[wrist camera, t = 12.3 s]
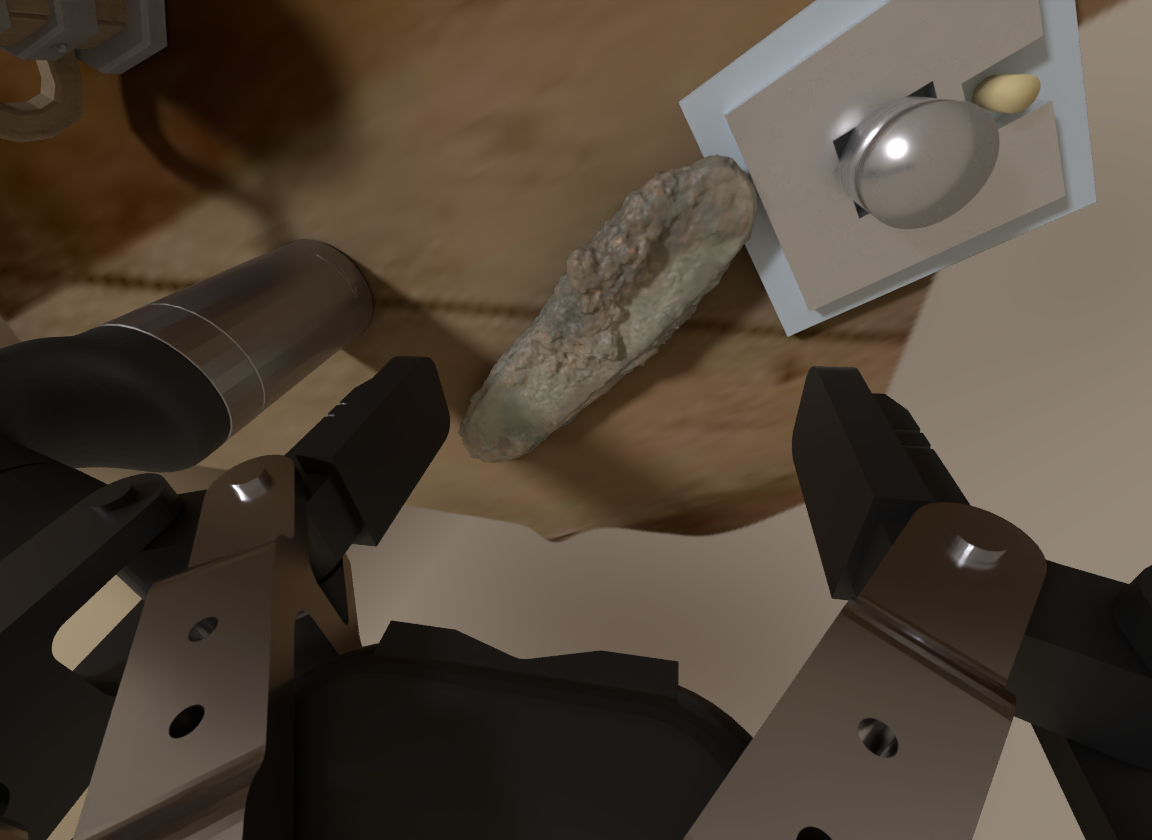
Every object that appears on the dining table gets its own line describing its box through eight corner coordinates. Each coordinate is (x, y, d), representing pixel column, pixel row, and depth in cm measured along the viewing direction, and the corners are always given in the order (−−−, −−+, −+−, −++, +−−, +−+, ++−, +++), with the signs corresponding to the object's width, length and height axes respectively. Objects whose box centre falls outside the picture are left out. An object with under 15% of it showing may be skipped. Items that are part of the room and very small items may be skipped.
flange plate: (805, 302, 34) (826, 344, 29) (723, 113, 28) (731, 123, 23) (1048, 190, 28) (1132, 217, 23) (1006, -84, 22) (1105, -132, 17)
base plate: (784, 328, 37) (795, 355, 34) (678, 101, 30) (678, 105, 26) (1079, 196, 29) (1135, 213, 25) (1035, -164, 21) (1104, -210, 18)
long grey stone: (447, 407, 50) (523, 456, 53) (426, 441, 47) (508, 492, 49) (682, 101, 28) (792, 213, 31) (677, 119, 24) (803, 245, 27)
